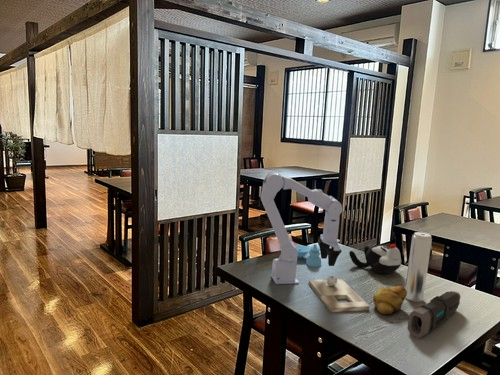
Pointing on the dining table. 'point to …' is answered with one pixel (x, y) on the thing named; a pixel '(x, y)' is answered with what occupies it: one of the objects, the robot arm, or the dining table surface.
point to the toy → (379, 258)
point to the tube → (432, 313)
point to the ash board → (338, 296)
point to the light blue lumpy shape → (313, 252)
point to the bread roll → (389, 299)
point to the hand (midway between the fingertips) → (327, 261)
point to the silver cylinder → (418, 266)
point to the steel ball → (332, 281)
